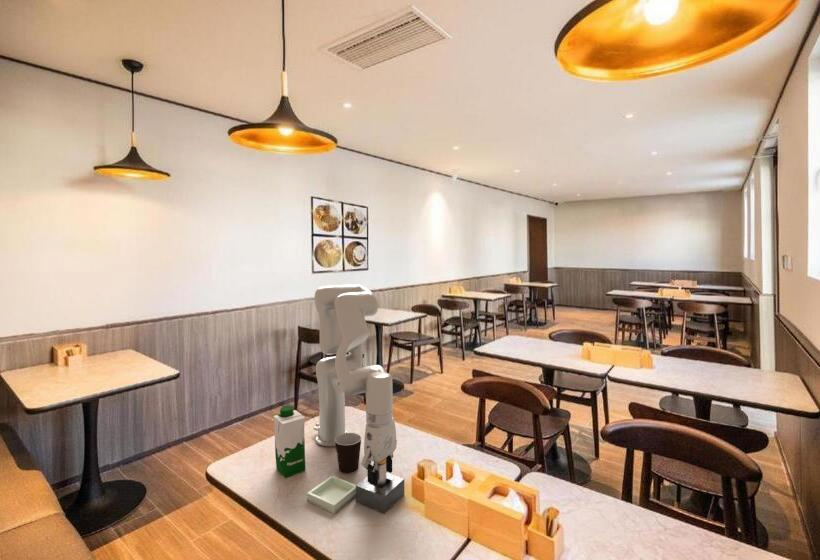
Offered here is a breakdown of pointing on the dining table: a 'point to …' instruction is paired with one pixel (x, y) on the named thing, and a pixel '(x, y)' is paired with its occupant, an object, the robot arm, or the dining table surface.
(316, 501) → the tray
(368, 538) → the dining table surface
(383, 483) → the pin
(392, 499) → the grey square box
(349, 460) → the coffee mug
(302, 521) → the dining table surface
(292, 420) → the milk carton
